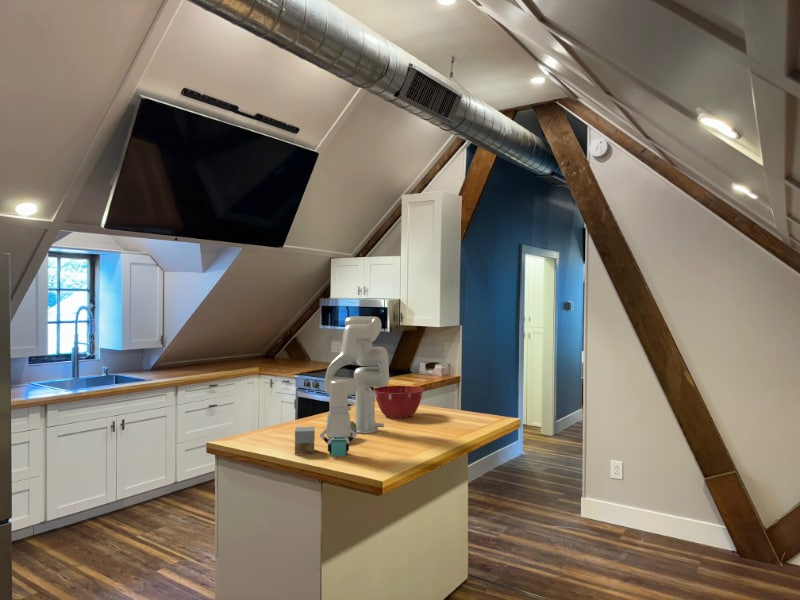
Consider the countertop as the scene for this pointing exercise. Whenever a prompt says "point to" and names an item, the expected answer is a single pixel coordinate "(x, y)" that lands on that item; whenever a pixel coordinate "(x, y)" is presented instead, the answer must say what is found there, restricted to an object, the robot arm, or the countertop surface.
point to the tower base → (304, 448)
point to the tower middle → (304, 434)
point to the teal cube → (338, 447)
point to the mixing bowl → (398, 400)
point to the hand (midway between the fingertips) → (338, 452)
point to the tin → (352, 428)
